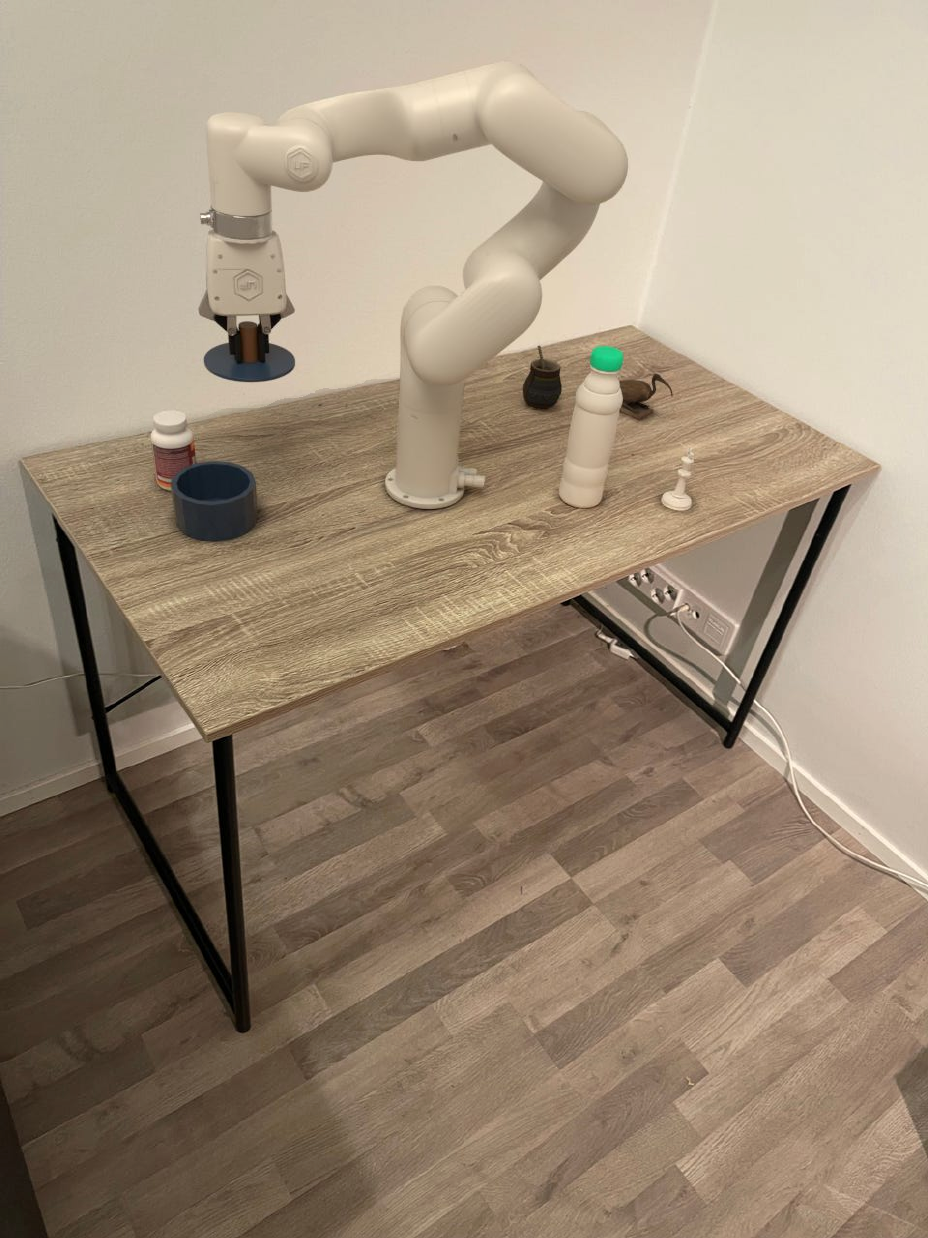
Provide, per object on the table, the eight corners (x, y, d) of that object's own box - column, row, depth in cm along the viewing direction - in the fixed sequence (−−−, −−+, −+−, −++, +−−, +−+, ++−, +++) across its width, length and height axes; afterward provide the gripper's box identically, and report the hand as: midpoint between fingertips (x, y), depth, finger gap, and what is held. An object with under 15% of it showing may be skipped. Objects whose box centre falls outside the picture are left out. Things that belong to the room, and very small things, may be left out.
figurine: (671, 422, 174) (682, 378, 168) (658, 429, 171) (669, 385, 166) (611, 394, 181) (620, 352, 175) (597, 401, 178) (606, 358, 173)
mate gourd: (534, 416, 171) (541, 365, 165) (512, 398, 176) (518, 348, 169) (566, 410, 174) (574, 359, 168) (543, 392, 179) (551, 342, 173)
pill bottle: (204, 487, 143) (198, 422, 136) (165, 496, 140) (156, 431, 133) (189, 468, 147) (182, 404, 140) (151, 477, 144) (141, 412, 137)
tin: (263, 500, 142) (261, 464, 138) (249, 544, 133) (246, 507, 129) (186, 494, 141) (182, 458, 137) (167, 538, 132) (161, 500, 128)
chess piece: (673, 513, 149) (688, 458, 143) (655, 497, 153) (669, 443, 146) (697, 507, 151) (713, 453, 145) (678, 492, 155) (693, 438, 148)
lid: (302, 352, 137) (301, 312, 133) (286, 390, 127) (285, 348, 123) (216, 343, 137) (212, 302, 133) (193, 381, 127) (189, 338, 123)
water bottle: (605, 492, 152) (636, 346, 136) (596, 514, 147) (627, 365, 131) (563, 482, 154) (590, 336, 138) (553, 503, 148) (579, 354, 133)
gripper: (179, 232, 114) (192, 372, 126) (310, 232, 119) (312, 367, 131) (174, 213, 120) (187, 349, 131) (300, 213, 125) (302, 344, 136)
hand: (249, 357), depth 131 cm, fingers closed on lid, 2 cm apart
